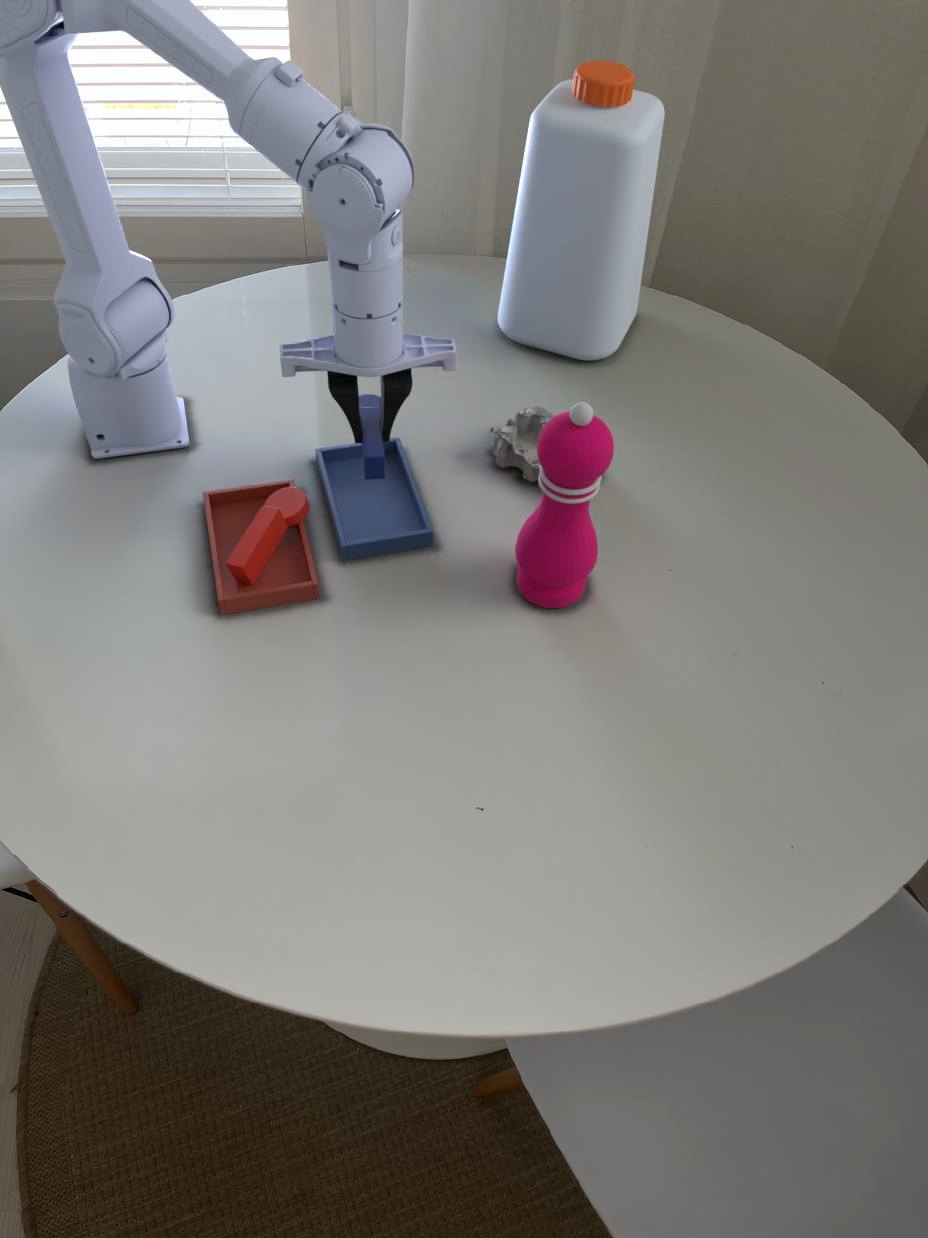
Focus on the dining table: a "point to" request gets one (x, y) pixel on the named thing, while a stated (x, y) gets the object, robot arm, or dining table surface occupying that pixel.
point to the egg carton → (521, 441)
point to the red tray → (287, 566)
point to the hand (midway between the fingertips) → (371, 435)
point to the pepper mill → (564, 509)
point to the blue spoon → (372, 437)
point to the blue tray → (373, 502)
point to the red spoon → (267, 533)
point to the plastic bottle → (582, 214)
